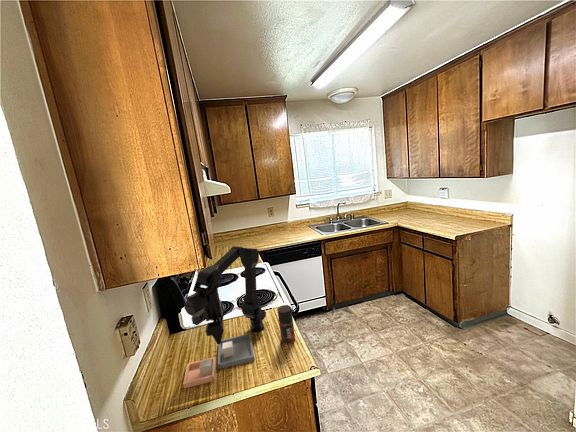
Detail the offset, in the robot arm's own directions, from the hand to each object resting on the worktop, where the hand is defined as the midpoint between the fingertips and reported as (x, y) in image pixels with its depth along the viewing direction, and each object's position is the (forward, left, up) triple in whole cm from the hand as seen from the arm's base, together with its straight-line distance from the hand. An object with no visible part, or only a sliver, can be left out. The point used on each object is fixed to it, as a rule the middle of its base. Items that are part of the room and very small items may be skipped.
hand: (219, 336), depth 108 cm
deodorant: (-2, +28, -11) cm, 30 cm away
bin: (-2, +5, -10) cm, 12 cm away
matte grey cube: (+6, -6, -10) cm, 13 cm away
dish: (+6, -8, -10) cm, 14 cm away
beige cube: (-2, +2, -10) cm, 10 cm away
